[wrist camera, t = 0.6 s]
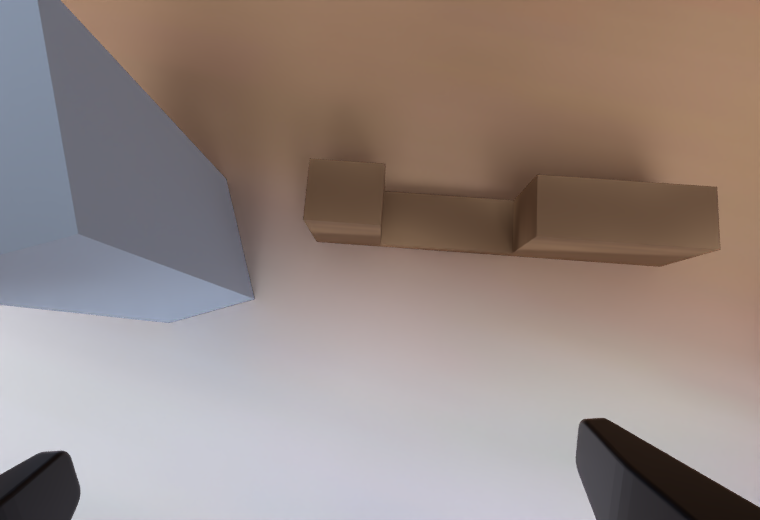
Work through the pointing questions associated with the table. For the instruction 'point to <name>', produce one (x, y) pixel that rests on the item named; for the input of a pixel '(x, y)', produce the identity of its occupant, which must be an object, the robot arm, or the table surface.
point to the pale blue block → (102, 185)
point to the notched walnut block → (517, 217)
